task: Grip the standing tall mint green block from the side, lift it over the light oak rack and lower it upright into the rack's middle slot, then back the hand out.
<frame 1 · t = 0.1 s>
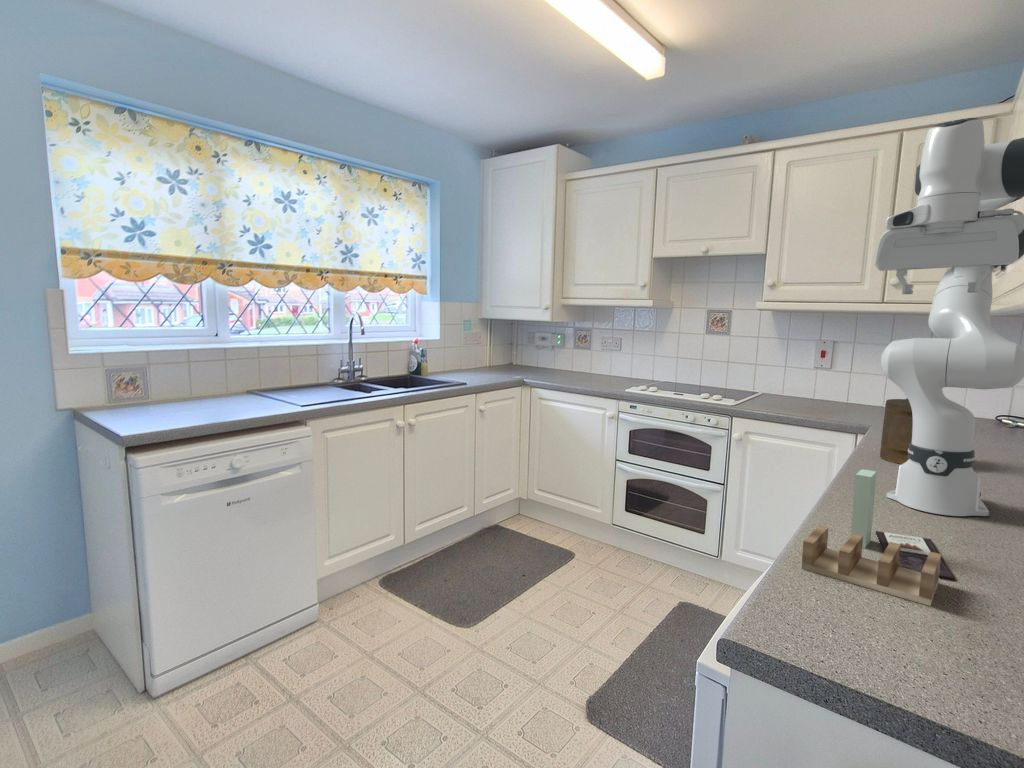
hand: (939, 293, 98), 48 cm above the worktop, tool pointing down, fingers open, 8 cm apart
wooden container: (908, 461, 167), on the worktop
rack: (868, 575, 92), on the worktop
tall mint green block: (860, 542, 106), on the worktop
chocolate bar: (911, 558, 100), on the worktop
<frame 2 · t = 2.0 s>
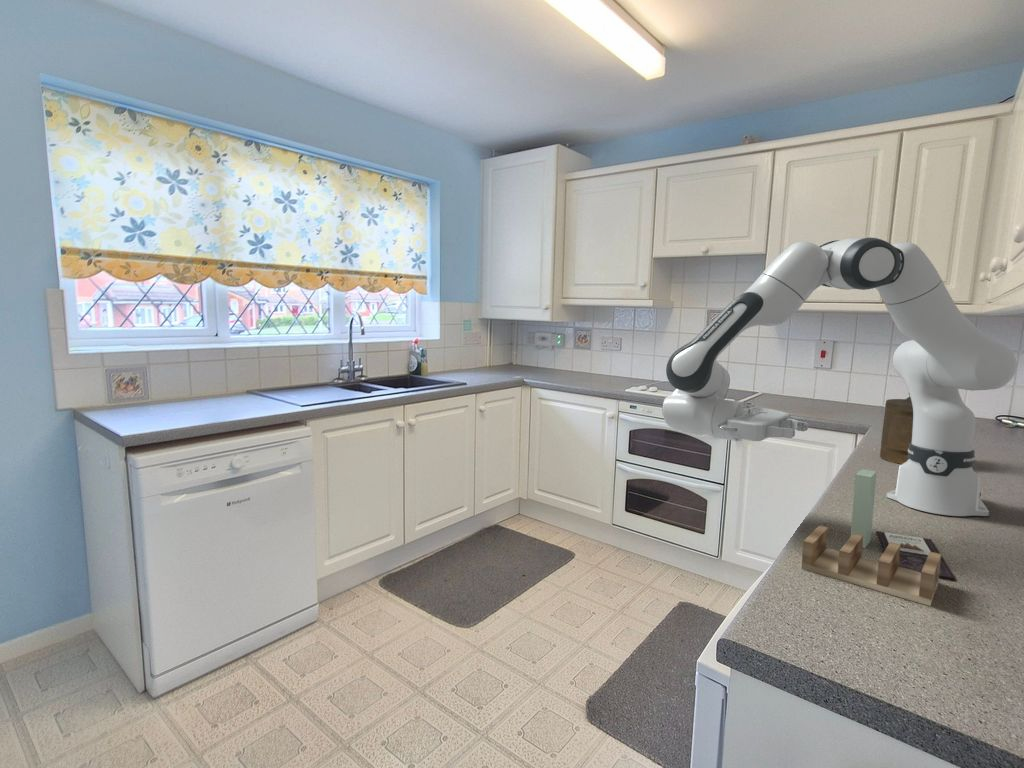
hand: (800, 430, 111), 21 cm above the worktop, tool horizontal, fingers open, 8 cm apart
nothing on the worktop moved.
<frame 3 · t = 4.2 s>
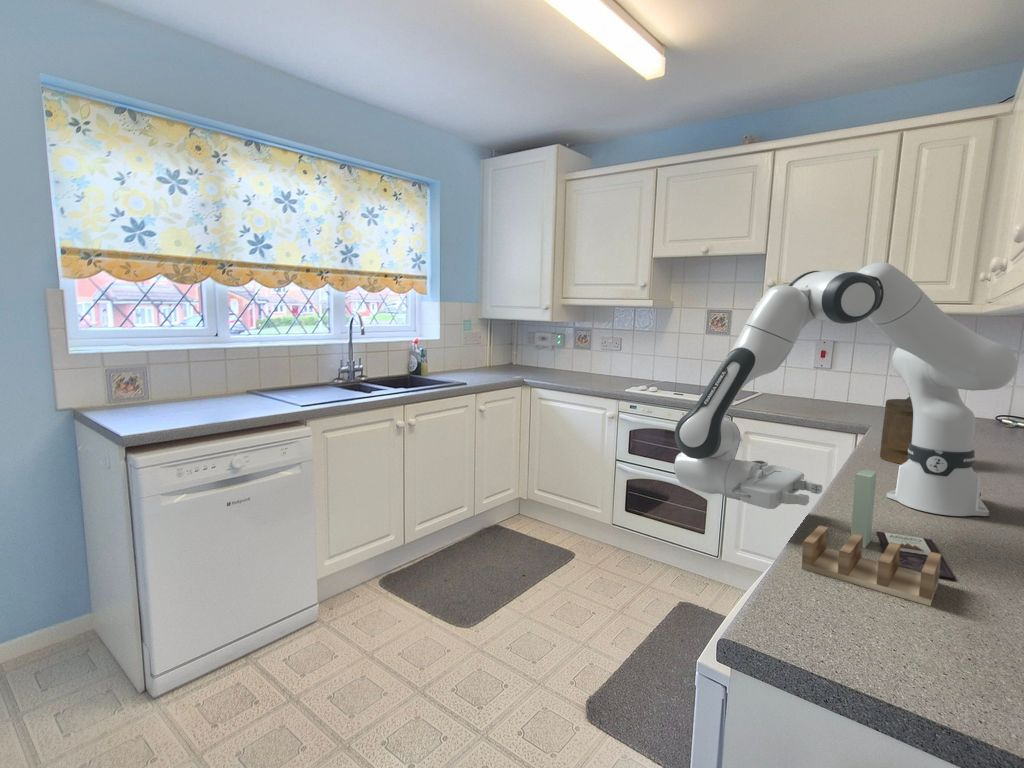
hand: (815, 495, 111), 8 cm above the worktop, tool horizontal, fingers open, 8 cm apart
nothing on the worktop moved.
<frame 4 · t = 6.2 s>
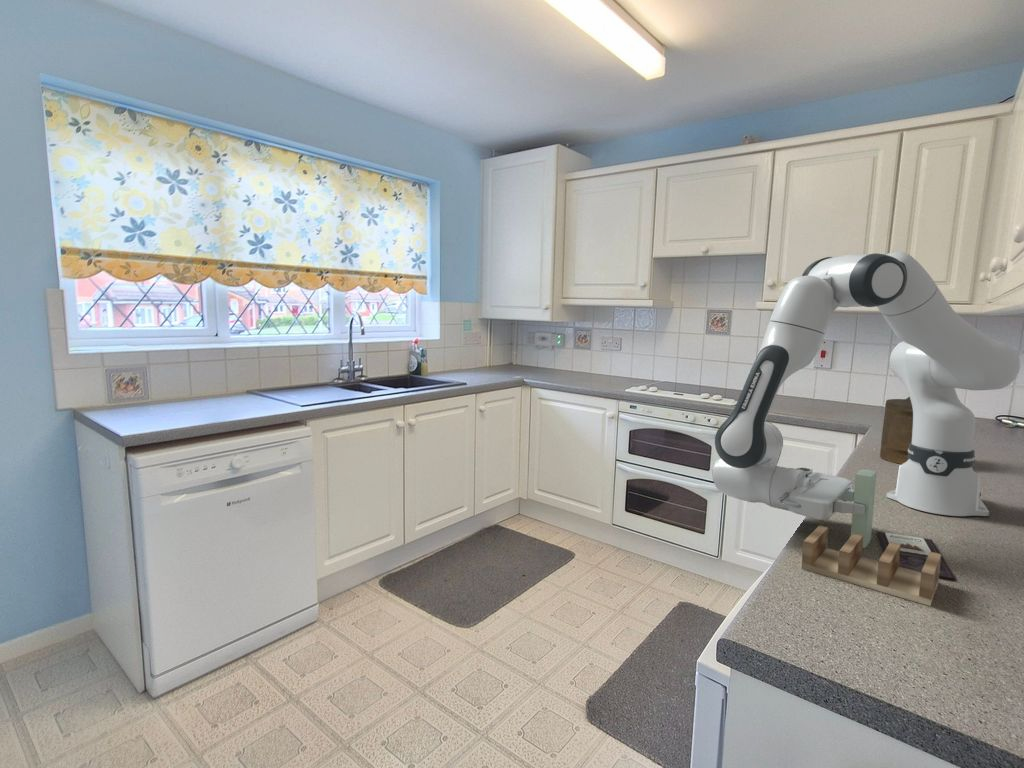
hand: (869, 505, 104), 8 cm above the worktop, tool horizontal, fingers closed on tall mint green block, 5 cm apart
tall mint green block: (860, 542, 106), on the worktop, touching gripper
everything else where it was.
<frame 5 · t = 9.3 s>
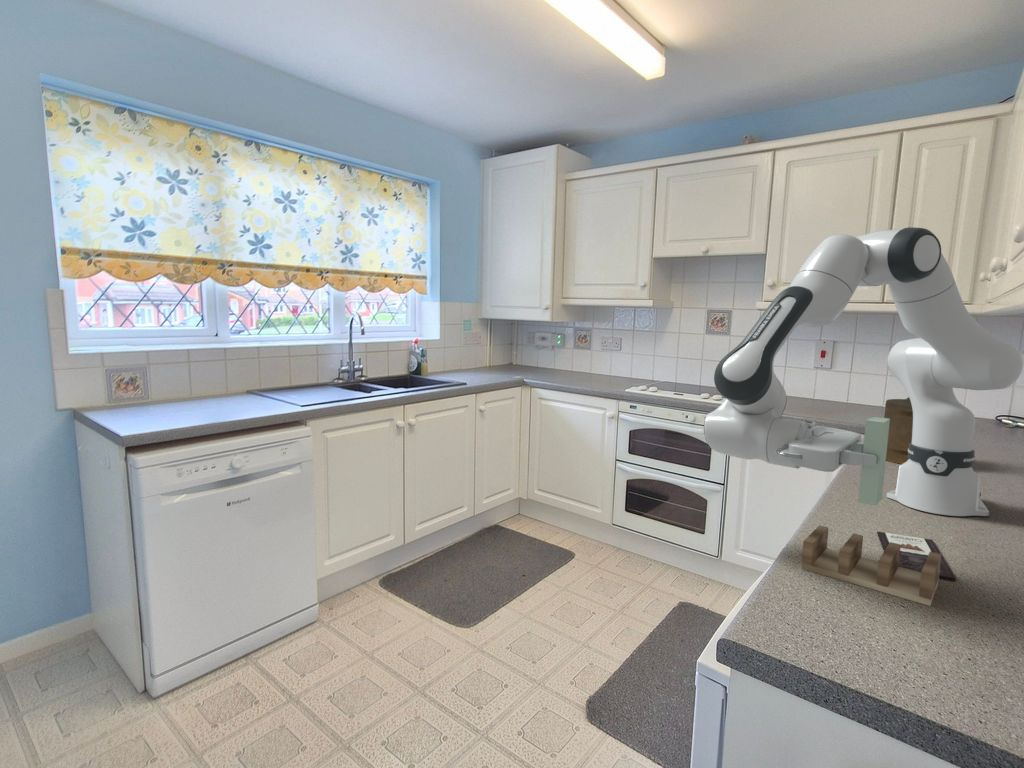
hand: (881, 457, 90), 21 cm above the worktop, tool horizontal, fingers closed on tall mint green block, 5 cm apart
tall mint green block: (870, 500, 92), point 13 cm above the worktop, touching gripper
everything else where it was.
when the fingers open (10 cm above the worktop, at t = 12.3 s): tall mint green block drops 1 cm, resting on rack.
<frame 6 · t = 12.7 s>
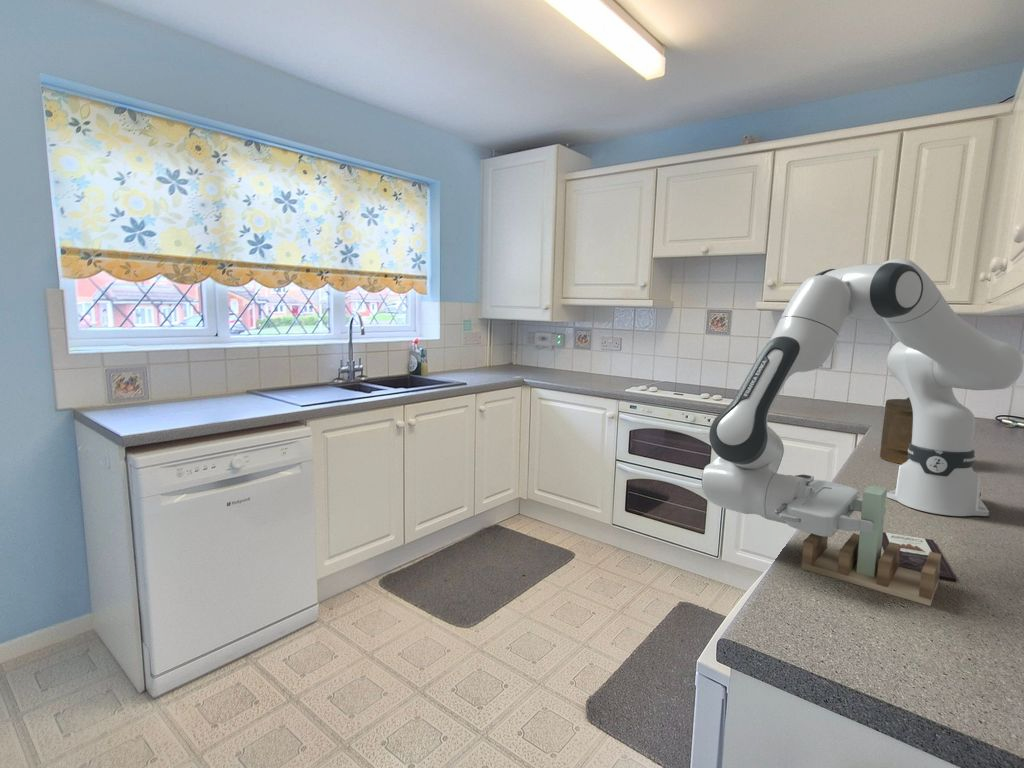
hand: (879, 519, 90), 10 cm above the worktop, tool horizontal, fingers open, 8 cm apart
tall mint green block: (868, 569, 92), point 1 cm above the worktop, touching rack
everything else where it was.
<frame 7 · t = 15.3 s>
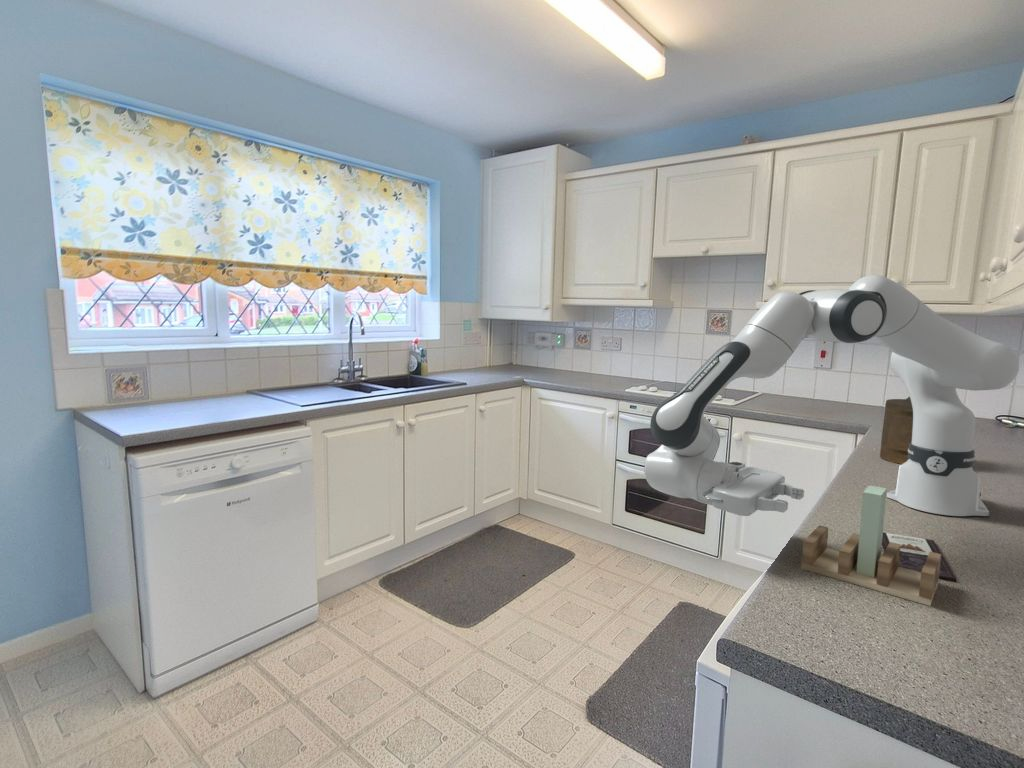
hand: (795, 500, 99), 10 cm above the worktop, tool horizontal, fingers open, 8 cm apart
nothing on the worktop moved.
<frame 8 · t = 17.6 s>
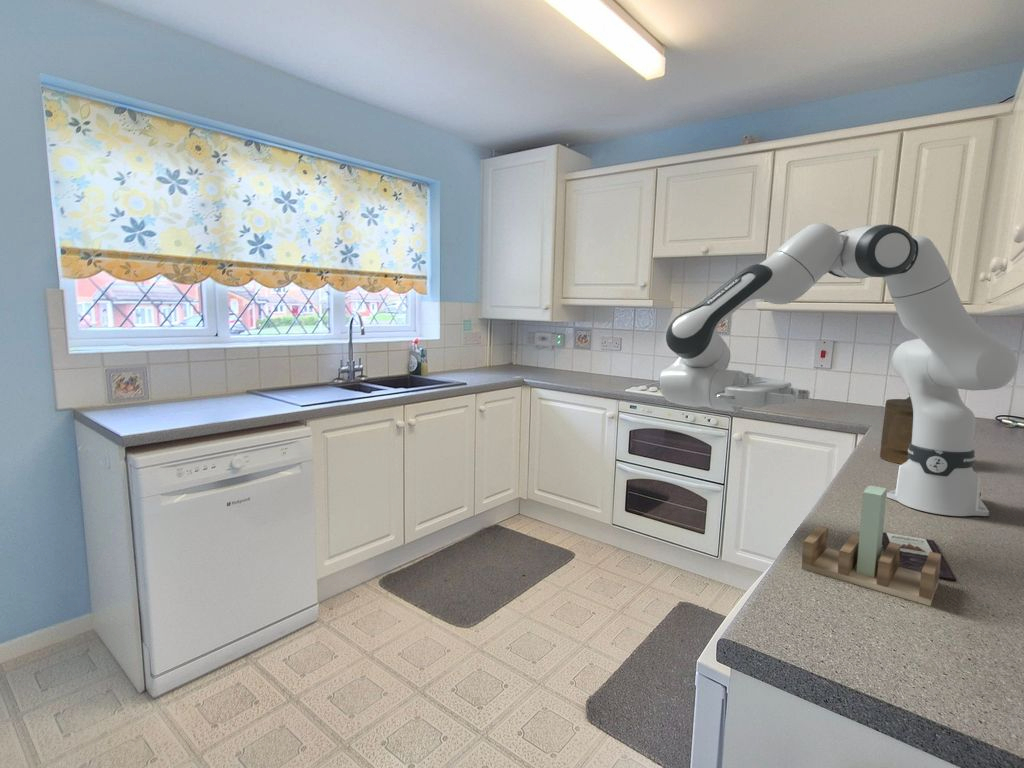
hand: (801, 397, 107), 28 cm above the worktop, tool horizontal, fingers open, 8 cm apart
nothing on the worktop moved.
at the end: tall mint green block 0.0 cm off-centre on the rack, point 1.0 cm above the rack's base; tall mint green block tilted 0°; the gripper is holding nothing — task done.
